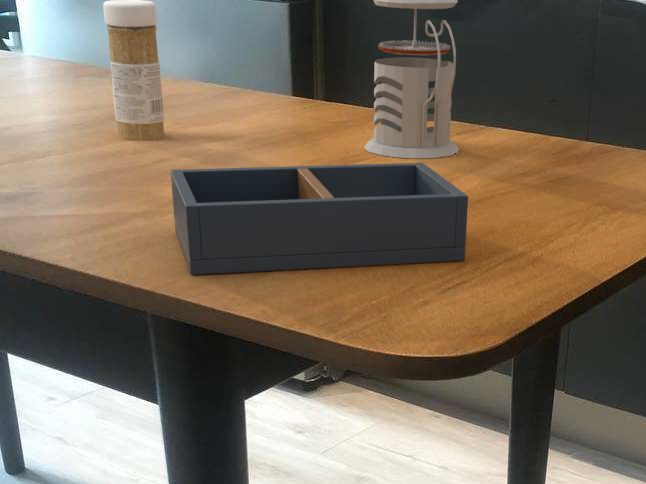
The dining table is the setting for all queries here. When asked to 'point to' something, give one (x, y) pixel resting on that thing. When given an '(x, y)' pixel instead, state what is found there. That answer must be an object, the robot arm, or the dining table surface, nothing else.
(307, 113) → the dining table surface
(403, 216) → the blue-grey divided tray
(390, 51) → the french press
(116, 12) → the spice jar
